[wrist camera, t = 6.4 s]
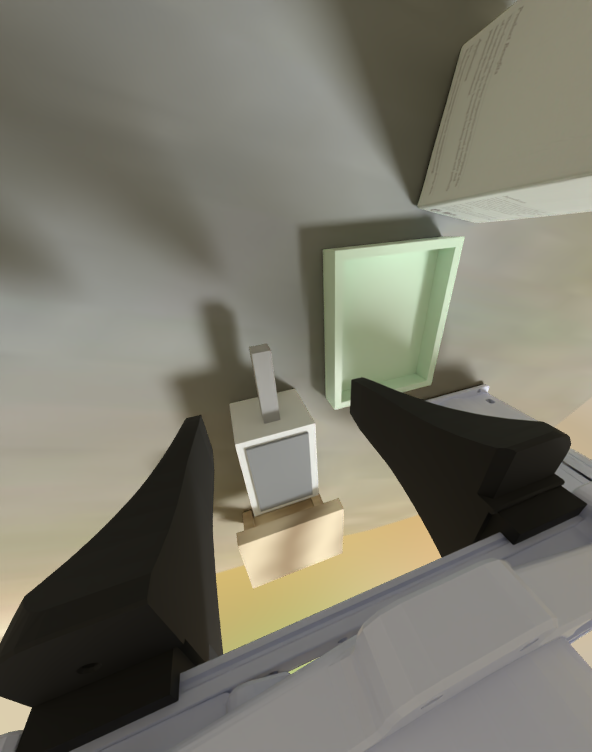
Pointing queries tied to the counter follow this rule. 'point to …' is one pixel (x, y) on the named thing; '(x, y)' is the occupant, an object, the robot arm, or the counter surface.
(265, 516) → the beige block
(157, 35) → the counter surface
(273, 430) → the white block with post
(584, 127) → the skincare box
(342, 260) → the tray
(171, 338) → the counter surface
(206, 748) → the robot arm
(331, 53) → the counter surface
